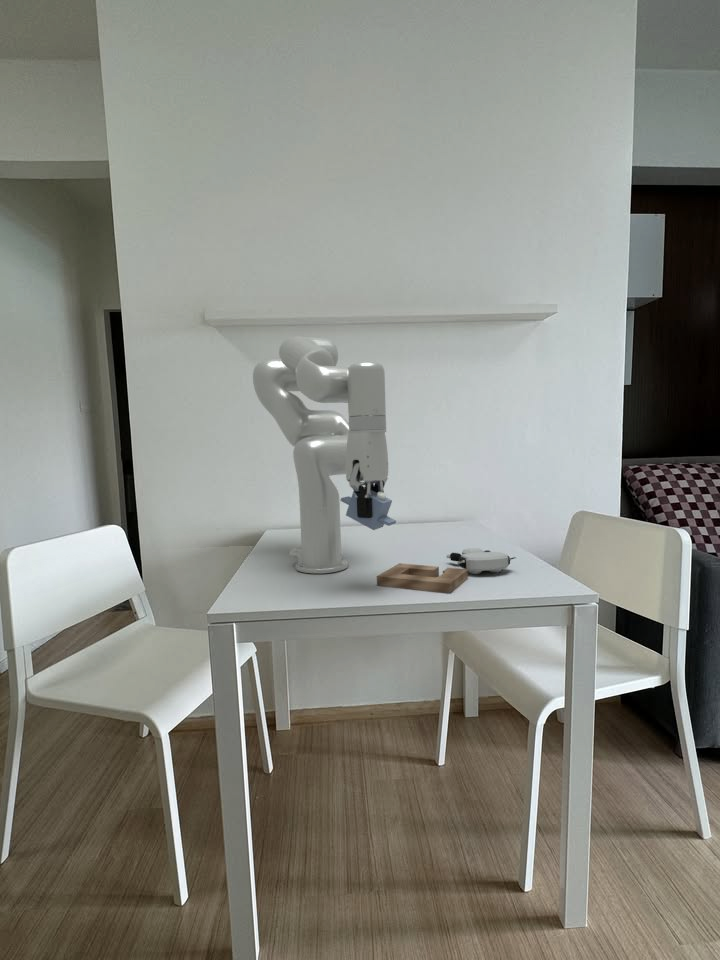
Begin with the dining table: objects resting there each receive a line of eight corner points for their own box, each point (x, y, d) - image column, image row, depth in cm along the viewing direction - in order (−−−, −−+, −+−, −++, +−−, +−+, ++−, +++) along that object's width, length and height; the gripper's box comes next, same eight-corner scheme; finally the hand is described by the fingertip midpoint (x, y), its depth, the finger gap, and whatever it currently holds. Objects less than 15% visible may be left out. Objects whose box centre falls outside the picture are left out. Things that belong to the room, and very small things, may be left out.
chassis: (377, 585, 116) (376, 576, 116) (399, 571, 126) (399, 563, 126) (450, 593, 108) (450, 583, 108) (467, 578, 119) (467, 569, 119)
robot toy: (443, 567, 133) (465, 578, 118) (443, 548, 133) (464, 557, 118) (491, 564, 135) (518, 574, 120) (491, 545, 135) (517, 554, 120)
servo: (336, 510, 114) (345, 479, 112) (346, 507, 117) (355, 477, 115) (383, 535, 108) (395, 503, 107) (393, 532, 112) (404, 501, 110)
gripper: (371, 426, 120) (374, 509, 121) (329, 426, 105) (332, 521, 107) (402, 424, 116) (404, 511, 117) (362, 424, 101) (366, 523, 103)
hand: (370, 515), depth 112 cm, fingers closed on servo, 3 cm apart
